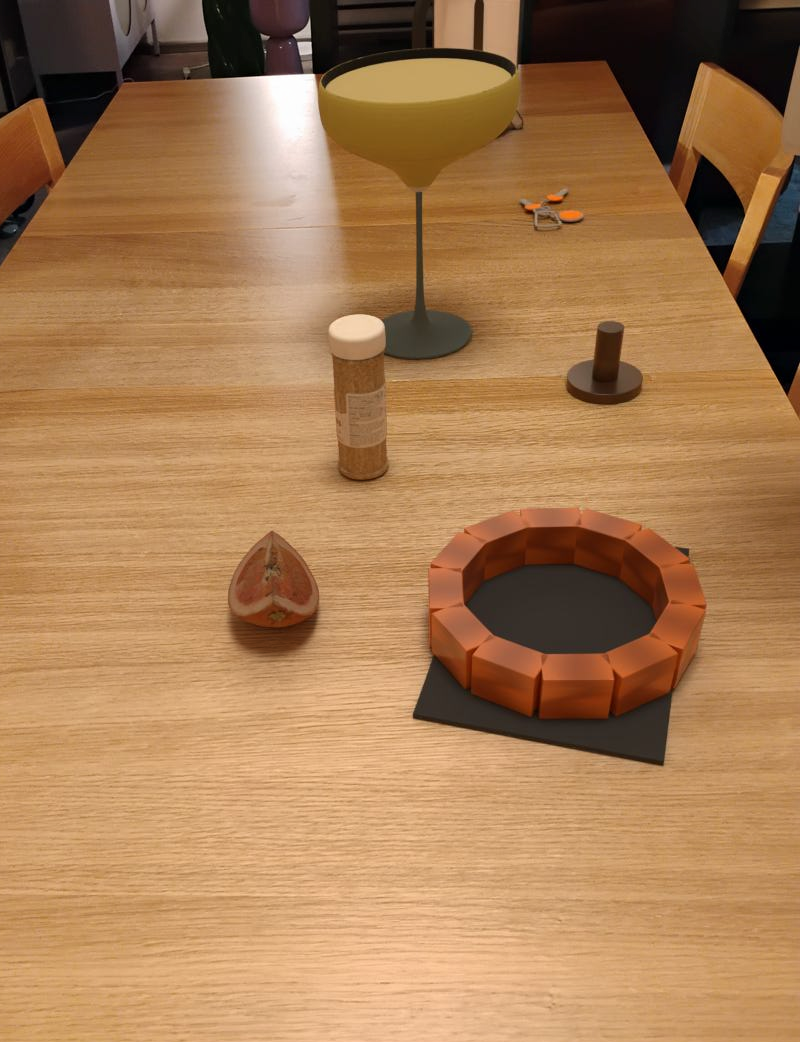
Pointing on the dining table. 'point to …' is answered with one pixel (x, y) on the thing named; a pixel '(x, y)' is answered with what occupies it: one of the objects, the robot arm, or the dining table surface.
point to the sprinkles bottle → (360, 394)
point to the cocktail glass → (419, 145)
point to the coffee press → (471, 27)
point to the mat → (556, 628)
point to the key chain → (540, 210)
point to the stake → (605, 370)
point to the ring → (565, 678)
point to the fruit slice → (273, 585)
